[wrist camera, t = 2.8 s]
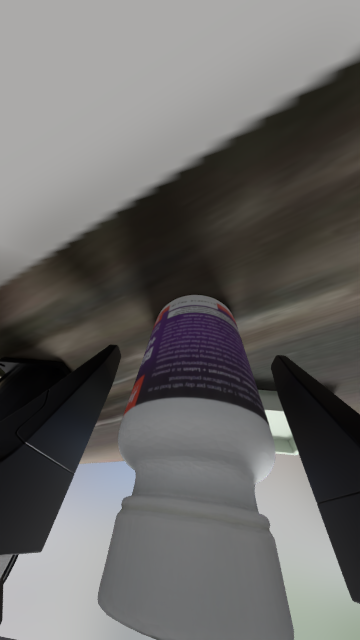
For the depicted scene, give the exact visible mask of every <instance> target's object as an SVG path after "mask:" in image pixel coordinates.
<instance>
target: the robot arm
mask: <svg viewBox="0 0 360 640" xmlns="http://www.w3.org/2000/svg"><path fill="white" fill-rule="evenodd" d="M120 359H121V353H120V350H119V347H118V345H109V346H108V347H106V348H105V349H104V350H102V351H101V352H99V353H98V354H97V355H95V356H94V357H92V358H91V359H90V360H88V361H87V362H85V363H84V364H83V365H81V366H80V367H79V368H77V369H76V370H74V371H73V372H72V373H70V372H69V370H68V369H67V367H66V366H65V365H64V364H63V363H60V362H49V361H35V360H21V359H7V358H1V359H0V368H1V369H2V370H3V371H4V372H5V373H6V374H5V375H4V376H2V377H1V378H0V624H1V622H2V609H3V606H2V605H3V584H4V582H5V581H6V579H7V577H8V576H9V573H10V572H11V569H12V567H13V566H14V564H15V562H16V559H17V557H18V555H19V554H26V553H38V552H41V551H42V549H43V547H44V545H45V542H46V540H47V538H48V535H49V533H50V531H51V528H52V526H53V524H54V520H55V519H56V516H57V514H58V512H59V509H60V507H61V505H62V502H63V500H64V498H65V495H66V493H67V490H68V488H69V486H70V483H71V481H72V479H73V476H74V473H75V471H76V469H77V467H78V464H79V462H80V460H81V457H82V455H83V453H84V450H85V448H86V446H87V443H88V441H89V439H90V436H91V434H92V431H93V429H94V427H95V424H96V422H97V420H98V417H99V415H100V413H101V410H102V408H103V406H104V403H105V401H106V399H107V396H108V394H109V392H110V389H111V387H112V384H113V382H114V379H115V375H116V372H117V369H118V365H119V362H120ZM271 370H272V374H273V378H274V382H275V386H276V390H277V394H278V397H279V400H280V403H281V406H282V408H283V411H284V414H285V417H286V419H287V422H288V425H289V428H290V430H291V433H292V436H293V439H294V441H295V444H296V447H297V450H298V452H299V455H300V458H301V461H302V463H303V466H304V469H305V472H306V474H307V477H308V480H309V483H310V486H311V488H312V491H313V494H314V497H315V499H316V502H317V505H318V508H319V511H320V513H321V516H322V519H323V522H324V524H325V527H326V530H327V533H328V535H329V538H330V541H331V544H332V547H333V549H334V552H335V555H336V558H337V560H338V563H339V566H340V569H341V571H342V574H343V577H344V579H345V582H346V585H347V588H348V590H349V593H350V595H351V598H352V600H353V601H354V602H357V603H359V604H360V414H359V413H357V412H356V411H355V410H353V409H352V408H351V407H350V406H348V405H347V404H346V403H345V402H343V401H342V400H341V399H340V398H338V397H337V396H336V395H334V394H333V393H332V392H331V391H329V390H328V389H327V388H326V387H324V386H323V385H322V384H321V383H319V382H318V381H317V380H315V379H314V378H313V377H312V376H310V375H309V374H308V373H307V372H305V371H304V370H303V369H302V368H300V367H299V366H298V365H296V364H295V363H294V362H293V361H291V360H290V359H289V358H288V357H286V356H283V355H277V356H276V357H275V359H274V361H273V363H272V365H271ZM0 640H15V639H10V638H5V637H0Z"/></svg>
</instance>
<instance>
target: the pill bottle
mask: <svg viewBox="0 0 360 640" xmlns="http://www.w3.org/2000/svg"><path fill="white" fill-rule="evenodd" d="M118 446H119V450H120V453H121V455H122V458H123V459H124V461H125V462H126V463H127V464H128V465H129V466H130V467H131V468H132V469H134V470H135V472H136V479H135V485H134V489H133V493H132V496H128V497H126V498H124V499H123V501H122V504H121V505H122V509H121V510H120V512H119V513H118V514H117V516H116V520H115V525H114V530H113V534H112V538H111V542H110V547H109V551H108V555H107V559H106V564H105V568H104V572H103V575H102V579H101V583H100V587H99V592H98V604H99V605H100V607H101V608H102V610H103V611H104V612H105V613H106V614H107V615H108V616H110V617H112V618H113V619H115V620H116V621H118V622H120V623H121V624H123V625H125V626H127V627H129V628H131V629H133V630H135V631H137V632H139V633H141V634H144V635H146V636H149V637H151V638H154V639H156V640H294V630H293V625H292V620H291V615H290V611H289V605H288V601H287V596H286V591H285V586H284V582H283V577H282V572H281V568H280V562H279V558H278V553H277V548H276V544H275V539H274V537H273V536H272V534H271V532H270V531H269V528H270V523H269V520H268V518H267V517H265V516H264V515H262V514H259V512H258V509H257V504H256V499H255V493H254V489H255V488H254V487H255V484H256V483H258V482H260V481H262V480H263V479H265V478H266V477H267V476H268V475H269V473H270V472H271V470H272V468H273V465H274V462H275V445H274V440H273V436H272V433H271V429H270V426H269V422H268V419H267V416H266V413H265V410H264V407H263V404H262V401H261V398H260V395H259V392H258V389H257V386H256V383H255V380H254V377H253V374H252V371H251V368H250V365H249V362H248V359H247V356H246V353H245V350H244V347H243V344H242V340H241V338H240V334H239V331H238V328H237V325H236V322H235V320H234V318H233V316H232V314H231V312H230V311H229V309H228V308H227V307H226V306H225V305H224V304H223V303H221V302H220V301H218V300H216V299H214V298H211V297H208V296H203V295H188V296H183V297H180V298H177V299H175V300H173V301H172V302H170V303H169V304H167V305H166V306H165V307H164V308H163V309H162V311H161V312H160V314H159V316H158V318H157V320H156V323H155V325H154V328H153V331H152V334H151V337H150V340H149V343H148V346H147V349H146V352H145V355H144V358H143V361H142V364H141V366H140V369H139V372H138V375H137V378H136V381H135V384H134V387H133V390H132V393H131V396H130V399H129V401H128V404H127V407H126V410H125V413H124V416H123V419H122V422H121V426H120V429H119V434H118Z"/></svg>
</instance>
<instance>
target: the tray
mask: <svg viewBox="0 0 360 640" xmlns="http://www.w3.org/2000/svg"><path fill="white" fill-rule="evenodd" d="M258 392H259V395H260V398H261V401H262V404H263V407H264V410H265V413H266V416H267V419H268V422H269V426H270V429H271V433H272V436H273V440H274V445H275V453H278V454H289V455H298V454H299V452H298V450H297V447H296V444H295V441H294V439H293V436H292V433H291V430H290V428H289V425H288V422H287V419H286V417H285V414H284V411H283V408H282V406H281V403H280V400H279V397H278V394H277V391H267V390H258Z"/></svg>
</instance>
